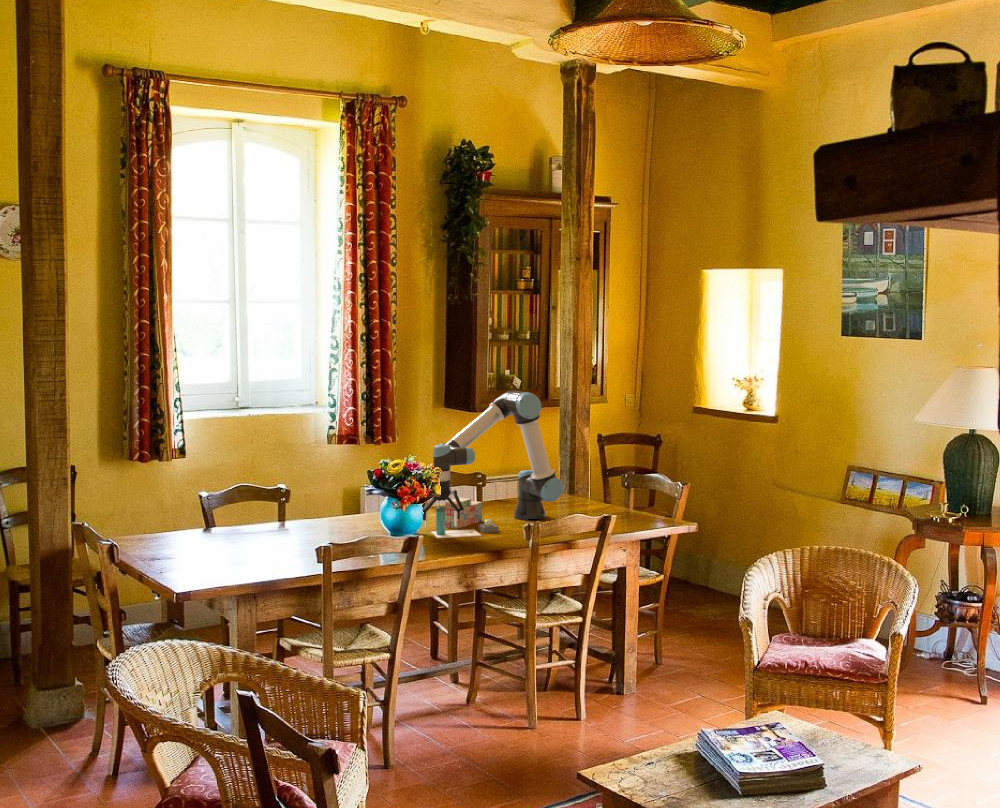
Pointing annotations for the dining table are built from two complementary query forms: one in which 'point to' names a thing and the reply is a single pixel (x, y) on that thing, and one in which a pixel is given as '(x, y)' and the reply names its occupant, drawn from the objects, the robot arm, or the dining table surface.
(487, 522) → the button
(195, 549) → the dining table surface
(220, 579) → the dining table surface
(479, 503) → the stack of blocks
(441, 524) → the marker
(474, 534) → the sheet
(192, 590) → the dining table surface
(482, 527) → the block
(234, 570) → the dining table surface
